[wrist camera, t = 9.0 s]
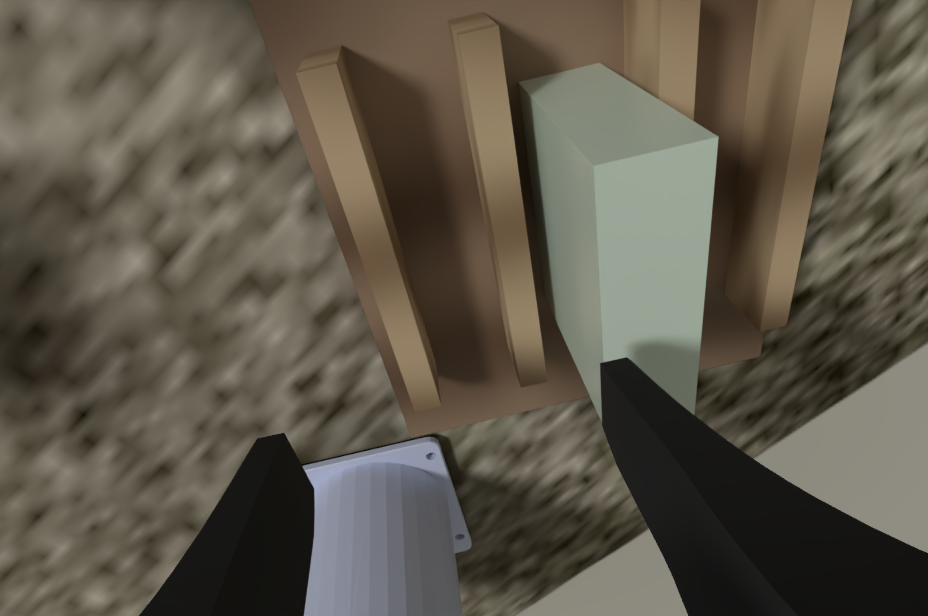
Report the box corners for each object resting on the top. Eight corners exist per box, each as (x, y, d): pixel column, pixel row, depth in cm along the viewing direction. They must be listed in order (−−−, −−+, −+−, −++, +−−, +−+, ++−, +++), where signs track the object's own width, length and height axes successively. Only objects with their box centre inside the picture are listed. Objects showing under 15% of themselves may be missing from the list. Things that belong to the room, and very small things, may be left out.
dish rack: (747, 342, 25) (794, 395, 22) (410, 421, 25) (414, 484, 22) (840, -265, 14) (963, -314, 11) (215, -116, 14) (172, -127, 11)
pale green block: (608, 281, 21) (694, 414, 15) (545, 296, 21) (607, 434, 15) (599, 62, 16) (718, 136, 11) (518, 82, 16) (593, 165, 11)
